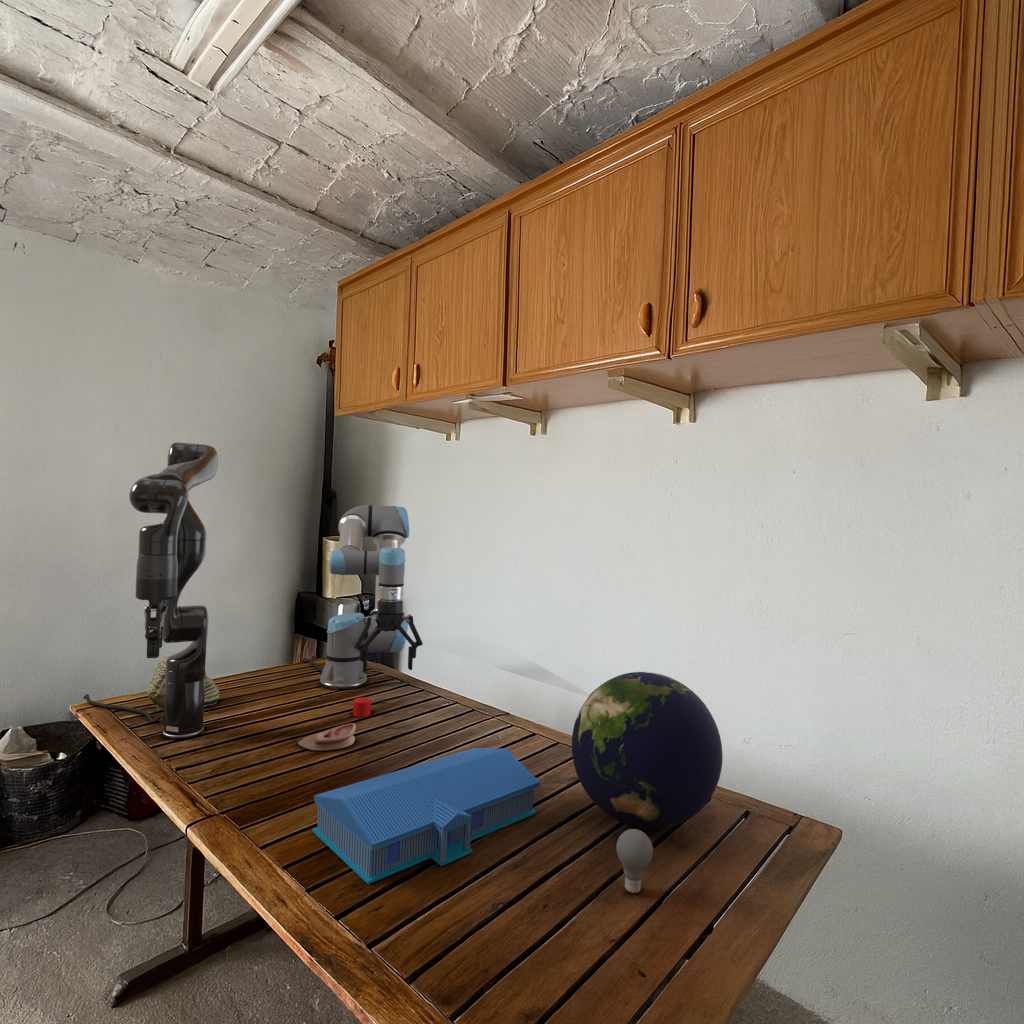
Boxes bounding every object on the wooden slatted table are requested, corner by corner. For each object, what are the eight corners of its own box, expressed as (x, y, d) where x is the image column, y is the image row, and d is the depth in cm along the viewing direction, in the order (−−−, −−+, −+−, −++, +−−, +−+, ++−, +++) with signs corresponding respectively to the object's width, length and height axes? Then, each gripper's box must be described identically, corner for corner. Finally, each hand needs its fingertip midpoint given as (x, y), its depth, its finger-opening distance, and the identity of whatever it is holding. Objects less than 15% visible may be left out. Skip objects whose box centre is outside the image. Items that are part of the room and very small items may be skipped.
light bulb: (610, 879, 108) (613, 822, 108) (644, 879, 109) (647, 822, 109) (619, 902, 102) (622, 840, 102) (655, 901, 103) (658, 840, 103)
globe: (548, 837, 121) (555, 681, 121) (589, 777, 149) (595, 650, 148) (711, 879, 110) (720, 707, 109) (723, 805, 138) (730, 668, 137)
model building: (378, 893, 102) (380, 832, 102) (311, 830, 120) (313, 778, 120) (548, 819, 128) (550, 770, 128) (472, 776, 146) (474, 733, 146)
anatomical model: (291, 731, 158) (315, 716, 169) (291, 747, 158) (314, 731, 169) (341, 738, 155) (361, 722, 167) (340, 754, 155) (360, 737, 167)
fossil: (144, 707, 182) (145, 655, 182) (212, 696, 194) (213, 647, 194) (151, 716, 175) (153, 662, 175) (221, 703, 188) (223, 653, 188)
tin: (364, 718, 182) (364, 703, 182) (349, 715, 183) (349, 701, 183) (374, 713, 186) (374, 698, 186) (359, 710, 188) (360, 696, 188)
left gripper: (175, 579, 127) (173, 660, 127) (179, 571, 140) (176, 644, 140) (132, 580, 124) (129, 662, 124) (139, 571, 137) (137, 646, 137)
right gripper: (349, 603, 181) (346, 676, 181) (434, 601, 190) (431, 671, 191) (345, 598, 188) (343, 669, 188) (427, 596, 197) (425, 664, 198)
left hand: (154, 652), depth 132 cm, fingers open, 8 cm apart
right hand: (387, 670), depth 189 cm, fingers open, 13 cm apart
